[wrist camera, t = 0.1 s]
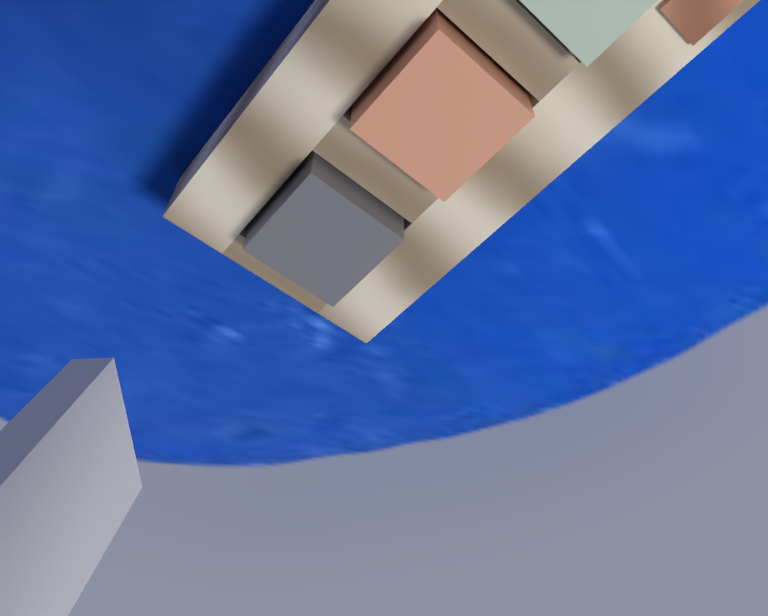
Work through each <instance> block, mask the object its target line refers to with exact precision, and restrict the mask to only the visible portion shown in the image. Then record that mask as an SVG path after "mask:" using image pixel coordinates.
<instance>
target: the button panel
mask: <svg viewBox="0 0 768 616" xmlns="http://www.w3.org/2000/svg"><path fill="white" fill-rule="evenodd" d="M758 1H759V0H658V1H657V2H656V3H655V4H653V5H652V6H651V7H650V8H649V9H648V10H647V11H646V12H645V13H644V14H643V15H642V16H641V17H640V18H639V19H638V20H637V21H635V22H634V23H633V24H632V25H631V26H630V27H629V28H628V29H627V30H626V31H625V32H624V33H623V34H622V35H621V36H620V37H619V38H617V39H616V40H615V41H614V42H613V43H612V44H611V45H610V46H609V47H608V48H607V49H606V50H605V51H604V52H603V53H602V54H601V55H600V56H598V57H597V58H596V59H595V60H594V61H593V62H592V63H591V64H590V65H589V66H588V67H587V66H585V65H584V64H583V63H582V62H581V61H580V60H579V59H578V58H577V57H576V56H575V55H574V54H573V53H572V52H571V51H570V50H569V49H568V48H567V47H566V46H565V45H564V44H563V43H562V42H561V41H560V40H559V39H558V38H557V37H556V36H555V35H554V34H553V33H552V32H551V31H550V30H549V29H548V28H547V27H546V26H545V25H544V24H543V23H542V22H541V21H540V20H539V19H538V18H537V17H536V16H535V15H534V14H533V13H532V12H531V11H530V10H529V9H528V8H527V7H526V6H525V5H524V4H523V3H522V2H521V1H520V0H315V1H314V2H313V3H312V5H311V6H310V7H309V9H308V10H307V11H306V13H305V14H304V15H303V17H302V18H301V19H300V21H299V22H298V23H297V24H296V26H295V27H294V28H293V30H292V31H291V32H290V34H289V35H288V36H287V38H286V39H285V40H284V42H283V43H282V44H281V46H280V47H279V48H278V49H277V51H276V52H275V53H274V55H273V56H272V57H271V59H270V60H269V61H268V63H267V64H266V65H265V67H264V68H263V69H262V70H261V72H260V73H259V74H258V76H257V77H256V78H255V80H254V81H253V82H252V84H251V85H250V86H249V88H248V89H247V90H246V92H245V93H244V94H243V95H242V97H241V98H240V99H239V101H238V102H237V103H236V105H235V106H234V107H233V109H232V110H231V111H230V113H229V114H228V115H227V117H226V118H225V119H224V120H223V122H222V123H221V124H220V126H219V127H218V128H217V130H216V131H215V132H214V134H213V135H212V136H211V138H210V139H209V140H208V142H207V143H206V144H205V145H204V147H203V148H202V149H201V151H200V152H199V153H198V155H197V156H196V157H195V159H194V160H193V161H192V163H191V164H190V165H189V167H188V168H187V169H186V170H185V172H184V173H183V174H182V176H181V177H180V178H179V181H178V183H177V185H176V187H175V190H174V192H173V194H172V196H171V199H170V201H169V203H168V205H167V208H166V210H165V212H164V214H163V217H164V218H166V219H167V220H169V221H171V222H172V223H174V224H175V225H177V226H179V227H180V228H182V229H183V230H185V231H187V232H188V233H190V234H191V235H193V236H195V237H196V238H198V239H199V240H201V241H203V242H204V243H206V244H208V245H209V246H211V247H212V248H214V249H216V250H217V251H219V252H220V253H222V254H224V255H225V256H227V257H228V258H230V259H232V260H233V261H235V262H236V263H238V264H240V265H241V266H243V267H244V268H246V269H248V270H249V271H251V272H253V273H254V274H256V275H257V276H259V277H261V278H262V279H264V280H265V281H267V282H269V283H270V284H272V285H273V286H275V287H277V288H278V289H280V290H281V291H283V292H285V293H286V294H288V295H289V296H291V297H293V298H294V299H296V300H298V301H299V302H301V303H302V304H304V305H306V306H307V307H309V308H310V309H312V310H314V311H315V312H317V313H318V314H320V315H322V316H323V317H325V318H326V319H328V320H330V321H331V322H333V323H335V324H336V325H338V326H339V327H341V328H343V329H344V330H346V331H347V332H349V333H351V334H352V335H354V336H355V337H357V338H359V339H360V340H362V341H363V342H365V343H367V342H368V341H370V340H371V339H372V338H373V337H374V336H375V335H376V334H378V333H379V332H380V331H381V330H382V329H383V328H384V327H386V326H387V325H388V324H389V323H390V322H391V321H393V320H394V319H395V318H396V317H397V316H398V315H399V314H401V313H402V312H403V311H404V310H405V309H406V308H407V307H409V306H410V305H411V304H412V303H413V302H414V301H415V300H417V299H418V298H419V297H420V296H421V295H422V294H423V293H425V292H426V291H427V290H428V289H429V288H430V287H432V286H433V285H434V284H435V283H436V282H437V281H438V280H440V279H441V278H442V277H443V276H444V275H445V274H446V273H448V272H449V271H450V270H451V269H452V268H453V267H454V266H456V265H457V264H458V263H459V262H460V261H461V260H462V259H464V258H465V257H466V256H467V255H468V254H469V253H470V252H472V251H473V250H474V249H475V248H476V247H477V246H479V245H480V244H481V243H482V242H483V241H484V240H485V239H487V238H488V237H489V236H490V235H491V234H492V233H493V232H495V231H496V230H497V229H498V228H499V227H500V226H501V225H503V224H504V223H505V222H506V221H507V220H508V219H509V218H511V217H512V216H513V215H514V214H515V213H516V212H518V211H519V210H520V209H521V208H522V207H523V206H524V205H526V204H527V203H528V202H529V201H530V200H531V199H532V198H534V197H535V196H536V195H537V194H538V193H539V192H540V191H542V190H543V189H544V188H545V187H546V186H547V185H548V184H550V183H551V182H552V181H553V180H554V179H555V178H557V177H558V176H559V175H560V174H561V173H562V172H563V171H565V170H566V169H567V168H568V167H569V166H570V165H571V164H573V163H574V162H575V161H576V160H577V159H578V158H579V157H581V156H582V155H583V154H584V153H585V152H586V151H587V150H589V149H590V148H591V147H592V146H593V145H594V144H595V143H597V142H598V141H599V140H600V139H601V138H602V137H604V136H605V135H606V134H607V133H608V132H609V131H610V130H612V129H613V128H614V127H615V126H616V125H617V124H618V123H620V122H621V121H622V120H623V119H624V118H625V117H626V116H628V115H629V114H630V113H631V112H632V111H633V110H634V109H636V108H637V107H638V106H639V105H640V104H641V103H643V102H644V101H645V100H646V99H647V98H648V97H649V96H651V95H652V94H653V93H654V92H655V91H656V90H657V89H659V88H660V87H661V86H662V85H663V84H664V83H665V82H667V81H668V80H669V79H670V78H671V77H672V76H673V75H675V74H676V73H677V72H678V71H679V70H680V69H682V68H683V67H684V66H685V65H686V64H687V63H688V62H690V61H691V60H692V59H693V58H694V57H695V56H696V55H698V54H699V53H700V52H701V51H702V50H703V49H704V48H706V47H707V46H708V45H709V44H710V43H711V42H712V41H714V40H715V39H716V38H717V37H718V36H719V35H720V34H722V33H723V32H724V31H725V30H726V29H727V28H729V27H730V26H731V25H732V24H733V23H734V22H735V21H737V20H738V19H739V18H740V17H741V16H742V15H743V14H745V13H746V12H747V11H748V10H749V9H750V8H751V7H753V6H754V5H755V4H756V3H757V2H758ZM436 8H438V9H439V10H440V11H441V12H443V13H444V14H445V15H446V16H447V17H448V18H449V19H450V20H451V21H452V22H453V23H455V24H456V25H457V26H458V27H459V28H460V29H461V30H462V31H463V32H464V33H465V34H467V35H468V36H469V37H470V38H471V39H472V40H473V41H474V42H475V43H476V44H477V45H478V46H480V47H481V48H482V49H483V50H484V51H485V52H486V53H487V54H488V55H489V56H490V57H492V58H493V59H494V60H495V61H496V62H497V63H498V64H499V65H500V66H501V67H502V68H504V69H505V70H506V71H507V72H508V73H509V74H510V75H511V76H512V77H513V78H514V79H516V80H517V81H518V82H519V83H520V84H521V85H522V86H523V87H524V88H525V89H526V91H527V94H528V97H529V99H530V102H531V105H532V108H533V111H534V114H535V117H534V118H533V119H532V120H531V121H530V122H529V123H528V124H526V125H525V126H524V127H523V128H522V129H521V130H520V131H519V132H518V133H517V134H516V135H515V136H514V137H513V138H512V139H511V140H510V141H508V142H507V143H506V144H505V145H504V146H503V147H502V148H501V149H500V150H499V151H498V152H497V153H496V154H495V155H494V156H493V157H492V158H490V159H489V160H488V161H487V162H486V163H485V164H484V165H483V166H482V167H481V168H480V169H479V170H478V171H477V172H476V173H475V174H474V175H473V176H471V177H470V178H469V179H468V180H467V181H466V182H465V183H464V184H463V185H462V186H461V187H460V188H459V189H458V190H457V191H456V192H455V193H453V194H452V195H451V196H450V197H449V198H448V199H447V200H446V201H445V202H443V201H442V200H441V199H439V198H438V197H437V196H436V195H434V194H433V193H432V192H430V191H429V190H428V189H426V188H425V187H424V186H423V185H421V184H420V183H419V182H417V181H416V180H415V179H413V178H412V177H411V176H410V175H408V174H407V173H406V172H404V171H403V170H402V169H401V168H399V167H398V166H397V165H395V164H394V163H393V162H391V161H390V160H389V159H388V158H386V157H385V156H384V155H382V154H381V153H380V152H378V151H377V150H376V149H375V148H373V147H372V146H371V145H369V144H368V143H367V142H365V141H364V140H363V139H362V138H360V137H359V136H358V135H356V134H355V133H354V132H353V131H351V130H350V121H351V111H352V104H353V103H354V102H355V101H356V99H357V98H358V97H359V96H360V95H361V94H362V92H363V91H364V90H365V89H366V88H367V87H368V86H369V84H370V83H371V82H372V81H373V80H374V79H375V78H376V76H377V75H378V74H379V73H380V72H381V71H382V70H383V68H384V67H385V66H386V65H387V64H388V63H389V61H390V60H391V59H392V58H393V57H394V56H395V55H396V53H397V52H398V51H399V50H400V49H401V48H402V47H403V45H404V44H405V43H406V42H407V41H408V40H409V39H410V37H411V36H412V35H413V34H414V33H415V32H416V31H417V29H418V28H419V27H420V26H421V25H422V24H423V22H424V21H425V20H426V19H427V18H428V17H429V16H430V14H431V13H432V12H433V11H434V10H435V9H436ZM312 150H313V151H314V152H315V153H317V154H318V155H320V156H321V157H322V158H324V159H325V160H326V161H328V162H329V163H330V164H332V165H333V166H334V167H336V168H337V169H339V170H340V171H341V172H343V173H344V174H345V175H347V176H348V177H349V178H351V179H352V180H354V181H355V182H356V183H358V184H359V185H360V186H362V187H363V188H364V189H366V190H367V191H368V192H370V193H371V194H373V195H374V196H375V197H377V198H378V199H379V200H381V201H382V202H383V203H385V204H386V205H387V206H389V207H390V208H392V209H393V210H394V211H396V212H397V213H398V214H400V215H401V216H402V217H404V241H403V242H402V243H401V244H399V245H398V246H397V247H396V248H395V249H394V250H393V251H392V252H391V253H390V254H389V255H388V256H387V257H386V258H385V259H384V260H383V261H381V262H380V263H379V264H378V265H377V266H376V267H375V268H374V269H373V270H372V271H371V272H370V273H369V274H368V275H367V276H366V277H365V278H363V279H362V280H361V281H360V282H359V283H358V284H357V285H356V286H355V287H354V288H353V289H352V290H351V291H350V292H349V293H348V294H347V295H346V296H344V297H343V298H342V299H341V300H340V301H339V302H338V303H337V304H336V305H335V306H334V307H332V306H330V305H329V304H327V303H325V302H324V301H322V300H321V299H319V298H317V297H316V296H314V295H313V294H311V293H310V292H308V291H306V290H305V289H303V288H302V287H300V286H299V285H297V284H295V283H294V282H292V281H291V280H289V279H287V278H286V277H284V276H283V275H281V274H280V273H278V272H276V271H275V270H273V269H272V268H270V267H269V266H267V265H265V264H264V263H262V262H261V261H259V260H257V259H256V258H254V257H253V256H251V255H250V254H248V253H246V252H245V251H243V250H242V249H243V246H244V242H245V238H246V235H247V231H248V227H249V224H250V221H251V220H252V219H253V218H254V216H255V215H256V214H257V213H258V212H259V211H260V210H261V208H262V207H263V206H264V205H265V204H266V203H267V201H268V200H269V199H270V198H271V197H272V196H273V195H274V193H275V192H276V191H277V190H278V189H279V188H280V187H281V185H282V184H283V183H284V182H285V181H286V180H287V179H288V177H289V176H290V175H291V174H292V173H293V172H294V171H295V169H296V168H297V167H298V166H299V165H300V164H301V162H302V161H303V160H304V159H305V158H306V157H307V156H308V154H309V153H310V152H311V151H312Z"/></svg>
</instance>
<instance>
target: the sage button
mask: <svg viewBox="0 0 768 616" xmlns="http://www.w3.org/2000/svg"><path fill="white" fill-rule="evenodd" d="M520 1H521V2H522V3H523V4H524V5H525V6H526V7H527V8H528V9H529V10H530V11H531V12H532V13H533V14H534V15H535V16H536V17H537V18H538V19H539V20H540V21H541V22H542V23H543V24H544V25H545V26H546V27H547V28H548V29H549V30H550V31H551V32H552V33H553V34H554V35H555V36H556V37H557V38H558V39H559V40H560V41H561V42H562V43H563V44H564V45H565V46H566V47H567V48H568V49H569V50H570V51H571V52H572V53H573V54H574V55H575V56H576V57H577V58H578V59H579V60H580V61H581V62H582V63H583V64H584V65H585V66H587V67H588V66H589V65H590V64H591V63H592V62H593V61H594V60H595V59H596V58H597V57H598V56H600V55H601V54H602V53H603V52H604V51H605V50H606V49H607V48H608V47H609V46H610V45H611V44H612V43H613V42H614V41H615V40H616V39H617V38H619V37H620V36H621V35H622V34H623V33H624V32H625V31H626V30H627V29H628V28H629V27H630V26H631V25H632V24H633V23H634V22H635V21H637V20H638V19H639V18H640V17H641V16H642V15H643V14H644V13H645V12H646V11H647V10H648V9H649V8H650V7H651V6H652V5H653V4H655V3H656V2H657V1H658V0H520Z"/></svg>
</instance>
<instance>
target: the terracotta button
mask: <svg viewBox="0 0 768 616" xmlns="http://www.w3.org/2000/svg"><path fill="white" fill-rule="evenodd" d="M534 117H535V114H534V111H533V108H532V105H531V102H530V99H529V97H528V94H527V91H526V89H525V88H524V87H523V86H522V85H521V84H520V83H519V82H518V81H517V80H516V79H514V78H513V77H512V76H511V75H510V74H509V73H508V72H507V71H506V70H505V69H504V68H502V67H501V66H500V65H499V64H498V63H497V62H496V61H495V60H494V59H493V58H492V57H490V56H489V55H488V54H487V53H486V52H485V51H484V50H483V49H482V48H481V47H480V46H478V45H477V44H476V43H475V42H474V41H473V40H472V39H471V38H470V37H469V36H468V35H467V34H465V33H464V32H463V31H462V30H461V29H460V28H459V27H458V26H457V25H456V24H455V23H453V22H452V21H451V20H450V19H449V18H448V17H447V16H446V15H445V14H444V13H443V12H441V11H440V10H439V9H438V8H436V9H435V10H434V11H433V12H432V13H431V14H430V16H429V17H428V18H427V19H426V20H425V21H424V22H423V24H422V25H421V26H420V27H419V28H418V29H417V31H416V32H415V33H414V34H413V35H412V36H411V37H410V39H409V40H408V41H407V42H406V43H405V44H404V45H403V47H402V48H401V49H400V50H399V51H398V52H397V53H396V55H395V56H394V57H393V58H392V59H391V60H390V61H389V63H388V64H387V65H386V66H385V67H384V68H383V70H382V71H381V72H380V73H379V74H378V75H377V76H376V78H375V79H374V80H373V81H372V82H371V83H370V84H369V86H368V87H367V88H366V89H365V90H364V91H363V92H362V94H361V95H360V96H359V97H358V98H357V99H356V101H355V102H354V103H353V104H352V111H351V121H350V130H351V131H353V132H354V133H355V134H356V135H358V136H359V137H360V138H362V139H363V140H364V141H365V142H367V143H368V144H369V145H371V146H372V147H373V148H375V149H376V150H377V151H378V152H380V153H381V154H382V155H384V156H385V157H386V158H388V159H389V160H390V161H391V162H393V163H394V164H395V165H397V166H398V167H399V168H401V169H402V170H403V171H404V172H406V173H407V174H408V175H410V176H411V177H412V178H413V179H415V180H416V181H417V182H419V183H420V184H421V185H423V186H424V187H425V188H426V189H428V190H429V191H430V192H432V193H433V194H434V195H436V196H437V197H438V198H439V199H441V200H442V201H443V202H445V201H446V200H447V199H448V198H449V197H450V196H451V195H452V194H453V193H455V192H456V191H457V190H458V189H459V188H460V187H461V186H462V185H463V184H464V183H465V182H466V181H467V180H468V179H469V178H470V177H471V176H473V175H474V174H475V173H476V172H477V171H478V170H479V169H480V168H481V167H482V166H483V165H484V164H485V163H486V162H487V161H488V160H489V159H490V158H492V157H493V156H494V155H495V154H496V153H497V152H498V151H499V150H500V149H501V148H502V147H503V146H504V145H505V144H506V143H507V142H508V141H510V140H511V139H512V138H513V137H514V136H515V135H516V134H517V133H518V132H519V131H520V130H521V129H522V128H523V127H524V126H525V125H526V124H528V123H529V122H530V121H531V120H532V119H533V118H534Z"/></svg>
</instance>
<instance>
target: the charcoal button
mask: <svg viewBox="0 0 768 616" xmlns="http://www.w3.org/2000/svg"><path fill="white" fill-rule="evenodd" d="M403 241H404V217H402V216H401V215H400V214H398V213H397V212H396V211H394V210H393V209H392V208H390V207H389V206H387V205H386V204H385V203H383V202H382V201H381V200H379V199H378V198H377V197H375V196H374V195H373V194H371V193H370V192H368V191H367V190H366V189H364V188H363V187H362V186H360V185H359V184H358V183H356V182H355V181H354V180H352V179H351V178H349V177H348V176H347V175H345V174H344V173H343V172H341V171H340V170H339V169H337V168H336V167H334V166H333V165H332V164H330V163H329V162H328V161H326V160H325V159H324V158H322V157H321V156H320V155H318V154H317V153H315V152H314V151H313V150H312V151H311V152H310V153H309V154H308V156H307V157H306V158H305V159H304V160H303V161H302V162H301V164H300V165H299V166H298V167H297V168H296V169H295V171H294V172H293V173H292V174H291V175H290V176H289V177H288V179H287V180H286V181H285V182H284V183H283V184H282V185H281V187H280V188H279V189H278V190H277V191H276V192H275V193H274V195H273V196H272V197H271V198H270V199H269V200H268V201H267V203H266V204H265V205H264V206H263V207H262V208H261V210H260V211H259V212H258V213H257V214H256V215H255V216H254V218H253V219H252V220H251V221H250V224H249V227H248V231H247V235H246V238H245V242H244V246H243V249H242V250H243V251H245V252H246V253H248V254H250V255H251V256H253V257H254V258H256V259H257V260H259V261H261V262H262V263H264V264H265V265H267V266H269V267H270V268H272V269H273V270H275V271H276V272H278V273H280V274H281V275H283V276H284V277H286V278H287V279H289V280H291V281H292V282H294V283H295V284H297V285H299V286H300V287H302V288H303V289H305V290H306V291H308V292H310V293H311V294H313V295H314V296H316V297H317V298H319V299H321V300H322V301H324V302H325V303H327V304H329V305H330V306H332V307H334V306H335V305H336V304H337V303H338V302H339V301H340V300H341V299H342V298H343V297H344V296H346V295H347V294H348V293H349V292H350V291H351V290H352V289H353V288H354V287H355V286H356V285H357V284H358V283H359V282H360V281H361V280H362V279H363V278H365V277H366V276H367V275H368V274H369V273H370V272H371V271H372V270H373V269H374V268H375V267H376V266H377V265H378V264H379V263H380V262H381V261H383V260H384V259H385V258H386V257H387V256H388V255H389V254H390V253H391V252H392V251H393V250H394V249H395V248H396V247H397V246H398V245H399V244H401V243H402V242H403Z"/></svg>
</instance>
